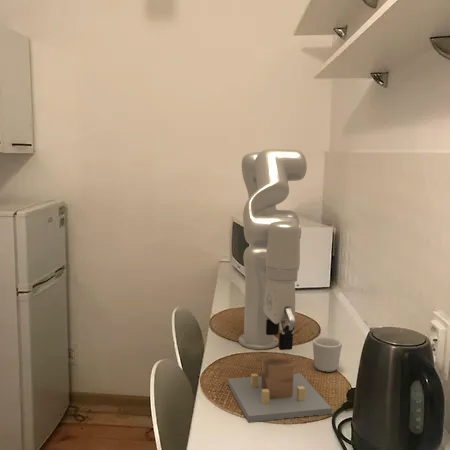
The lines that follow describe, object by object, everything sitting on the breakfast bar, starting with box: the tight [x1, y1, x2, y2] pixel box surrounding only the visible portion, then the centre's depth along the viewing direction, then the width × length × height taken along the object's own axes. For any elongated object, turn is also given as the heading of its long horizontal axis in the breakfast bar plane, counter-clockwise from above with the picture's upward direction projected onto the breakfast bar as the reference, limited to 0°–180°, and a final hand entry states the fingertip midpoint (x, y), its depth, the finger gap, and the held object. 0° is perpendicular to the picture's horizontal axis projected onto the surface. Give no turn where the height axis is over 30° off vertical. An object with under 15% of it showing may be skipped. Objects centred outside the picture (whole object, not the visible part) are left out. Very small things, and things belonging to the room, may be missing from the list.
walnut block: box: [261, 355, 295, 399], centre depth 130 cm, size 6×6×8 cm
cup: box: [312, 336, 343, 373], centre depth 150 cm, size 11×8×8 cm
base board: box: [227, 372, 333, 423], centre depth 130 cm, size 20×20×4 cm
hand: (278, 341), depth 129 cm, fingers open, 9 cm apart
